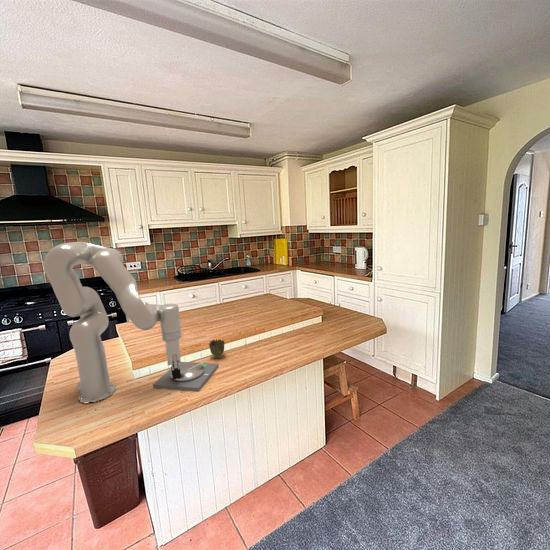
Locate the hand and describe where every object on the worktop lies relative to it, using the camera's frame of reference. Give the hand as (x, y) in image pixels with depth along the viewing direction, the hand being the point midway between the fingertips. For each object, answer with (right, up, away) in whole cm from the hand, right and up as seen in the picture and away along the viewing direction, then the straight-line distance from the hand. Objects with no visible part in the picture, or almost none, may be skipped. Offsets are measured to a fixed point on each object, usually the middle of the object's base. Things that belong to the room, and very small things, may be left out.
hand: (176, 376), depth 122 cm
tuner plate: (+3, -2, +5) cm, 6 cm away
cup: (+13, +1, +22) cm, 26 cm away
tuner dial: (+4, 0, +6) cm, 7 cm away
